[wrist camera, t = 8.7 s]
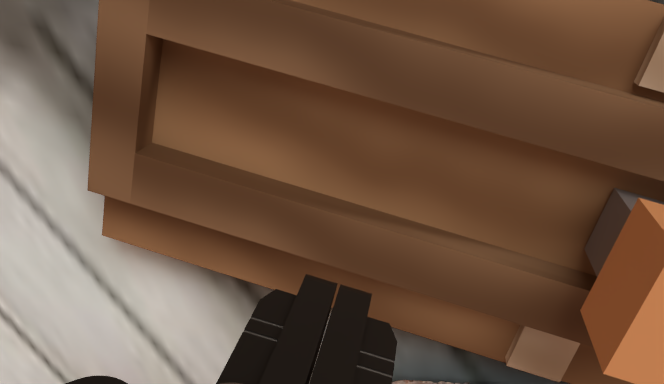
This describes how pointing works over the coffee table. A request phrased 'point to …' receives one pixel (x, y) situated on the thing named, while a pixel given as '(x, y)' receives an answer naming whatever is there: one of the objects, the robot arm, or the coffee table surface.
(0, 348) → the coffee table surface
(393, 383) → the food plate
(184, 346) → the coffee table surface
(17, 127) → the coffee table surface
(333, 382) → the robot arm
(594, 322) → the fader
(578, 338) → the console
